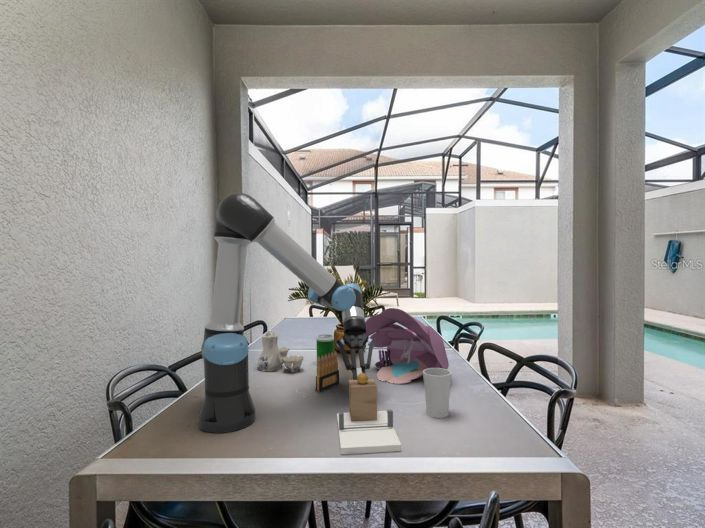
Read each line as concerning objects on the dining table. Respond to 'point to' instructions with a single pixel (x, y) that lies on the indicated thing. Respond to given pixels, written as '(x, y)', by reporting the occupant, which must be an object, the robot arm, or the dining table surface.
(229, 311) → the robot arm
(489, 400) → the dining table surface
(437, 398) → the cup
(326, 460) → the dining table surface
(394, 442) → the stand
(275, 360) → the chinaware
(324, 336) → the soda can
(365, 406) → the block
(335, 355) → the ammunition clip
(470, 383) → the dining table surface
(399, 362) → the flower arrangement
